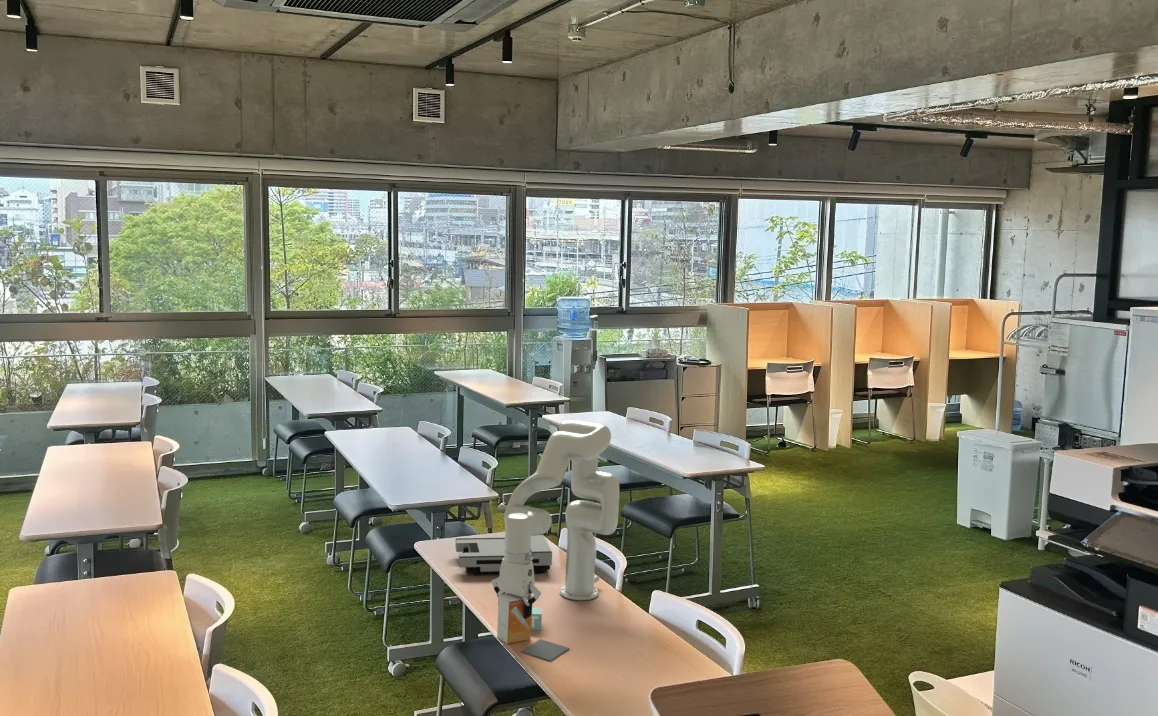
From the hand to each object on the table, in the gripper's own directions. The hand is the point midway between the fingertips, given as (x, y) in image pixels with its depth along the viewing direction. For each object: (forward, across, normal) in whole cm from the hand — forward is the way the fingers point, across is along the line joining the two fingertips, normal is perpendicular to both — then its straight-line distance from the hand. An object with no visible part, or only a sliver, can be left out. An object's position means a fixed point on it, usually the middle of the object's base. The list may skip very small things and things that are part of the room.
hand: (514, 613), depth 281 cm
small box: (+8, 0, 0) cm, 8 cm away
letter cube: (+8, 0, -11) cm, 13 cm away
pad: (+8, -12, +1) cm, 14 cm away
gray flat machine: (+8, +39, -48) cm, 62 cm away
